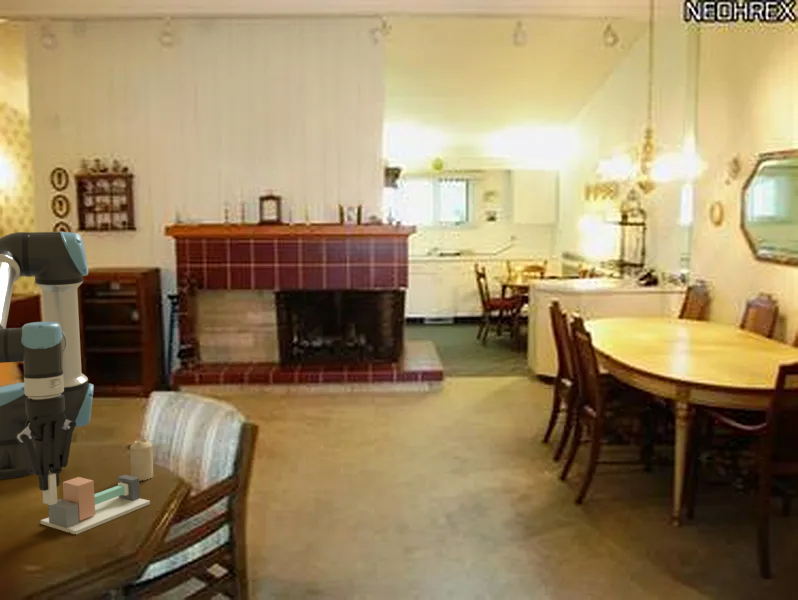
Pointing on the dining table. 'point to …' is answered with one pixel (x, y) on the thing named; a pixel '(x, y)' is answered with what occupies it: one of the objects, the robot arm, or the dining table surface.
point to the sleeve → (81, 495)
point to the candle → (141, 459)
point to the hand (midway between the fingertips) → (50, 502)
